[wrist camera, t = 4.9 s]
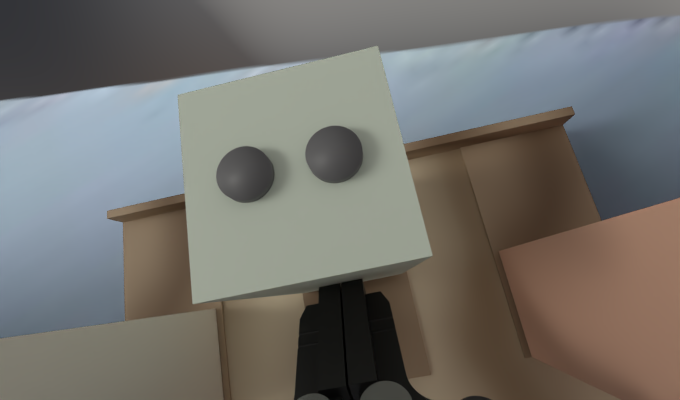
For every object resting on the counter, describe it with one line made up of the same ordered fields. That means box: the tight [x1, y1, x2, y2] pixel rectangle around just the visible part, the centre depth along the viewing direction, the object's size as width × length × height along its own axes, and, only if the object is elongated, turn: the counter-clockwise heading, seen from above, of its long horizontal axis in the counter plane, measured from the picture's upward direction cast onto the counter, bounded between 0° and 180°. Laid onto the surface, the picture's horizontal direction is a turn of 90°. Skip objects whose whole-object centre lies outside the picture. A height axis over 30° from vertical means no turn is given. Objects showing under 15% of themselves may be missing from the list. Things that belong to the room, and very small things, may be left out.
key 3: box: [499, 198, 680, 400], centre depth 10 cm, size 4×4×10 cm
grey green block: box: [178, 46, 433, 304], centre depth 11 cm, size 4×4×10 cm
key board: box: [107, 106, 621, 400], centre depth 16 cm, size 23×12×3 cm, turn 101°
